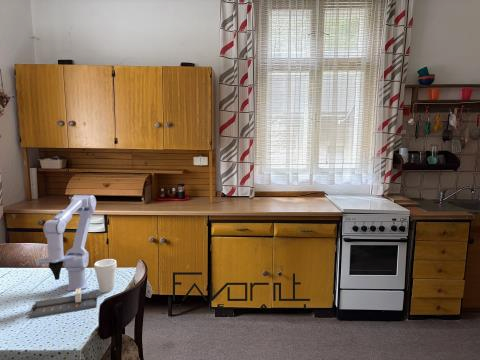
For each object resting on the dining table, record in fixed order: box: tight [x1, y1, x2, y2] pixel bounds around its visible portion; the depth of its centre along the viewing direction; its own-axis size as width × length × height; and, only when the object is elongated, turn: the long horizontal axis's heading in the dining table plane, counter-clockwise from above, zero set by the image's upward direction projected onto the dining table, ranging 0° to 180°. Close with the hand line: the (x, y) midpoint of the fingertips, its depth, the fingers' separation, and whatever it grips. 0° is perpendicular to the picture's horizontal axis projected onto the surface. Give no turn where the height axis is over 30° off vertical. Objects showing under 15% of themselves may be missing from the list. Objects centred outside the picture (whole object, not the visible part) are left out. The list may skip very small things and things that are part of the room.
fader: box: [74, 288, 82, 303], centre depth 143 cm, size 5×2×4 cm, turn 21°
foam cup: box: [94, 258, 118, 293], centre depth 156 cm, size 10×9×13 cm
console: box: [29, 291, 98, 319], centre depth 142 cm, size 12×24×2 cm, turn 111°
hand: (57, 278), depth 144 cm, fingers closed
